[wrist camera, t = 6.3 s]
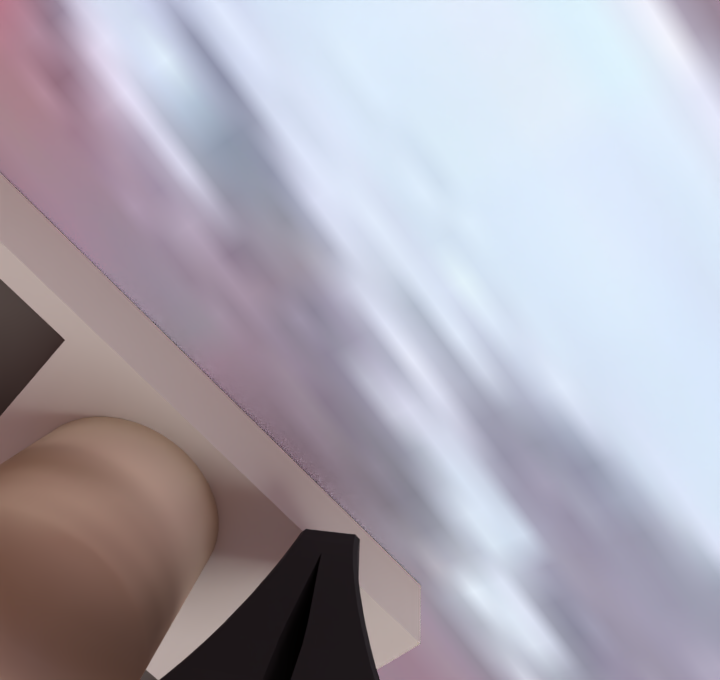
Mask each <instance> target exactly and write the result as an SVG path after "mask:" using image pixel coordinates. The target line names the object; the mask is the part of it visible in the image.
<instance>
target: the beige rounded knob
mask: <svg viewBox="0 0 720 680" xmlns="http://www.w3.org/2000/svg"><path fill="white" fill-rule="evenodd" d="M218 530H219V518H218V512H217V506H216V502H215V499H214V496H213V493H212V491H211V489H210V486H209V484H208V482H207V480H206V479H205V477H204V475H203V474H202V472H201V471H200V469H199V468H198V467H197V465H196V464H195V463H194V462H193V460H192V459H191V458H190V457H189V456H188V455H187V454H186V453H185V452H184V451H183V450H182V449H181V448H179V447H178V446H177V445H176V444H175V443H173V442H172V441H171V440H169V439H168V438H166V437H165V436H163V435H162V434H160V433H158V432H156V431H154V430H152V429H150V428H148V427H146V426H143V425H141V424H138V423H136V422H132V421H128V420H124V419H120V418H112V417H89V418H82V419H78V420H74V421H71V422H68V423H66V424H64V425H62V426H60V427H58V428H56V429H55V430H53V431H52V432H50V433H49V434H47V435H45V436H44V437H42V438H41V439H39V440H38V441H36V442H34V443H33V444H31V445H30V446H28V447H27V448H25V449H24V450H22V451H20V452H19V453H17V454H16V455H14V456H13V457H11V458H9V459H8V460H6V461H5V462H3V463H2V464H0V680H140V679H141V677H142V675H143V674H144V672H145V670H146V668H147V667H148V665H149V663H150V661H151V660H152V658H153V656H154V654H155V653H156V651H157V649H158V647H159V646H160V644H161V642H162V640H163V639H164V637H165V635H166V633H167V632H168V630H169V628H170V626H171V625H172V623H173V621H174V619H175V618H176V616H177V614H178V612H179V611H180V609H181V607H182V605H183V604H184V602H185V600H186V598H187V597H188V595H189V593H190V591H191V590H192V588H193V586H194V584H195V583H196V581H197V579H198V577H199V576H200V574H201V572H202V570H203V569H204V567H205V565H206V563H207V562H208V560H209V558H210V556H211V554H212V552H213V550H214V548H215V545H216V541H217V536H218Z"/></svg>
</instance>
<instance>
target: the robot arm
mask: <svg viewBox="0 0 720 680" xmlns="http://www.w3.org/2000/svg"><path fill="white" fill-rule="evenodd" d="M359 551H360V539H359V538H358V537H357V536H356V534H347V533H338V532H329V531H320V530H311V529H305V530H303V531H302V532H301V533H300V535H299V536H298V537H297V539H296V540H295V541H294V543H293V544H292V545H291V547H290V548H289V549H288V551H287V552H286V553H285V555H284V556H283V557H282V558H281V560H280V561H279V562H278V563H277V565H276V566H275V567H274V568H273V569H272V571H271V572H270V573H269V574H268V575H267V576H266V578H265V579H264V580H263V581H262V582H261V583H260V585H259V586H258V587H257V588H256V589H255V590H254V592H253V593H252V594H251V595H250V596H249V597H248V598H247V599H246V600H245V601H244V602H243V603H242V604H241V605H240V606H239V607H238V609H237V610H236V611H235V612H234V613H233V614H232V615H231V616H230V617H229V618H228V619H227V620H226V621H225V622H224V623H223V624H222V625H221V626H220V627H219V628H218V629H217V630H216V631H215V632H214V633H213V634H212V635H211V636H210V637H209V638H207V639H206V640H205V641H204V642H203V643H202V644H201V645H200V646H199V647H198V648H196V649H195V650H194V651H193V652H192V653H191V654H190V655H189V656H187V657H186V658H185V659H184V660H183V661H182V662H180V663H179V664H178V665H177V666H176V667H174V668H173V669H172V670H171V671H170V672H168V673H167V674H166V675H165V676H163V677H162V678H161V679H160V680H380V679H379V676H378V673H377V669H376V665H375V662H374V658H373V654H372V650H371V646H370V642H369V637H368V633H367V628H366V623H365V618H364V613H363V607H362V601H361V594H360V587H359Z"/></svg>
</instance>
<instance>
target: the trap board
mask: <svg viewBox="0 0 720 680" xmlns="http://www.w3.org/2000/svg"><path fill="white" fill-rule="evenodd" d="M89 417H112V418H120V419H124V420H128V421H132V422H136V423H138V424H141V425H143V426H146V427H148V428H150V429H152V430H154V431H156V432H158V433H160V434H162V435H163V436H165V437H166V438H168V439H169V440H171V441H172V442H173V443H175V444H176V445H177V446H178V447H179V448H181V449H182V450H183V451H184V452H185V453H186V454H187V455H188V456H189V457H190V458H191V459H192V460H193V462H194V463H195V464H196V465H197V467H198V468H199V469H200V471H201V472H202V474H203V475H204V477H205V479H206V480H207V482H208V484H209V486H210V489H211V491H212V493H213V496H214V499H215V502H216V506H217V512H218V518H219V530H218V536H217V541H216V545H215V548H214V550H213V552H212V554H211V556H210V558H209V560H208V562H207V563H206V565H205V567H204V569H203V570H202V572H201V574H200V576H199V577H198V579H197V581H196V583H195V584H194V586H193V588H192V590H191V591H190V593H189V595H188V597H187V598H186V600H185V602H184V604H183V605H182V607H181V609H180V611H179V612H178V614H177V616H176V618H175V619H174V621H173V623H172V625H171V626H170V628H169V630H168V632H167V633H166V635H165V637H164V639H163V640H162V642H161V644H160V646H159V647H158V649H157V651H156V653H155V654H154V656H153V658H152V660H151V661H150V663H149V665H148V667H147V668H146V670H145V672H144V674H143V675H142V677H141V679H140V680H160V679H161V678H162V677H163V676H165V675H166V674H167V673H168V672H170V671H171V670H172V669H173V668H174V667H176V666H177V665H178V664H179V663H180V662H182V661H183V660H184V659H185V658H186V657H187V656H189V655H190V654H191V653H192V652H193V651H194V650H195V649H196V648H198V647H199V646H200V645H201V644H202V643H203V642H204V641H205V640H206V639H207V638H209V637H210V636H211V635H212V634H213V633H214V632H215V631H216V630H217V629H218V628H219V627H220V626H221V625H222V624H223V623H224V622H225V621H226V620H227V619H228V618H229V617H230V616H231V615H232V614H233V613H234V612H235V611H236V610H237V609H238V607H239V606H240V605H241V604H242V603H243V602H244V601H245V600H246V599H247V598H248V597H249V596H250V595H251V594H252V593H253V592H254V590H255V589H256V588H257V587H258V586H259V585H260V583H261V582H262V581H263V580H264V579H265V578H266V576H267V575H268V574H269V573H270V572H271V571H272V569H273V568H274V567H275V566H276V565H277V563H278V562H279V561H280V560H281V558H282V557H283V556H284V555H285V553H286V552H287V551H288V549H289V548H290V547H291V545H292V544H293V543H294V541H295V540H296V539H297V537H298V536H299V535H300V533H301V532H302V531H303V530H305V529H311V530H320V531H329V532H338V533H347V534H356V536H357V537H358V538H359V539H360V551H359V587H360V594H361V601H362V607H363V613H364V618H365V623H366V628H367V633H368V637H369V642H370V646H371V650H372V654H373V658H374V662H375V665H376V669H379V668H380V667H382V666H384V665H386V664H387V663H389V662H391V661H392V660H394V659H396V658H397V657H399V656H401V655H403V654H404V653H406V652H408V651H409V650H411V649H413V648H414V647H416V646H418V645H419V644H420V626H421V585H420V584H419V583H418V582H417V581H416V580H415V579H414V578H412V577H411V576H410V575H409V574H408V573H407V572H406V571H405V570H404V569H403V568H402V567H401V566H400V565H399V564H398V563H397V562H396V561H395V560H394V559H393V558H392V557H391V556H390V555H389V554H388V553H387V552H386V551H385V550H384V549H383V548H382V547H381V546H380V545H379V544H378V543H377V542H376V541H375V540H374V539H373V538H372V537H371V536H370V535H369V534H368V533H367V532H366V531H365V530H364V529H363V528H362V527H361V526H360V525H359V524H357V523H356V522H355V521H354V520H353V519H352V518H351V517H350V516H349V515H348V514H347V513H346V512H345V511H344V510H343V509H342V508H341V507H340V506H339V505H338V504H337V503H336V502H335V501H334V500H333V499H332V498H331V497H330V496H329V495H328V494H327V493H326V492H325V491H324V490H323V489H322V488H321V487H320V486H319V485H318V484H317V483H316V482H315V481H314V480H313V479H312V478H311V477H310V476H309V475H308V474H307V473H306V472H305V471H304V470H302V469H301V468H300V467H299V466H298V465H297V464H296V463H295V462H294V461H293V460H292V459H291V458H290V457H289V456H288V455H287V454H286V453H285V452H284V451H283V450H282V449H281V448H280V447H279V446H278V445H277V444H276V443H275V442H274V441H273V440H272V439H271V438H270V437H269V436H268V435H267V434H266V433H265V432H264V431H263V430H262V429H261V428H260V427H259V426H258V425H257V424H256V423H255V422H254V421H253V420H252V419H251V418H250V417H248V416H247V415H246V414H245V413H244V412H243V411H242V410H241V409H240V408H239V407H238V406H237V405H236V404H235V403H234V402H233V401H232V400H231V399H230V398H229V397H228V396H227V395H226V394H225V393H224V392H223V391H222V390H221V389H220V388H219V387H218V386H217V385H216V384H215V383H214V382H213V381H212V380H211V379H210V378H209V377H208V376H207V375H206V374H205V373H204V372H203V371H202V370H201V369H200V368H199V367H198V366H197V365H196V364H195V363H193V362H192V361H191V360H190V359H189V358H188V357H187V356H186V355H185V354H184V353H183V352H182V351H181V350H180V349H179V348H178V347H177V346H176V345H175V344H174V343H173V342H172V341H171V340H170V339H169V338H168V337H167V336H166V335H165V334H164V333H163V332H162V331H161V330H160V329H159V328H158V327H157V326H156V325H155V324H154V323H153V322H152V321H151V320H150V319H149V318H148V317H147V316H146V315H145V314H144V313H143V312H142V311H141V310H140V309H138V308H137V307H136V306H135V305H134V304H133V303H132V302H131V301H130V300H129V299H128V298H127V297H126V296H125V295H124V294H123V293H122V292H121V291H120V290H119V289H118V288H117V287H116V286H115V285H114V284H113V283H112V282H111V281H110V280H109V279H108V278H107V277H106V276H105V275H104V274H103V273H102V272H101V271H100V270H99V269H98V268H97V267H96V266H95V265H94V264H93V263H92V262H91V261H90V260H89V259H88V258H87V257H86V256H85V255H83V254H82V253H81V252H80V251H79V250H78V249H77V248H76V247H75V246H74V245H73V244H72V243H71V242H70V241H69V240H68V239H67V238H66V237H65V236H64V235H63V234H62V233H61V232H60V231H59V230H58V229H57V228H56V227H55V226H54V225H53V224H52V223H51V222H50V221H49V220H48V219H47V218H46V217H45V216H44V215H43V214H42V213H41V212H40V211H39V210H38V209H37V208H36V207H35V206H34V205H33V204H32V203H31V202H30V201H28V200H27V199H26V198H25V197H24V196H23V195H22V194H21V193H20V192H19V191H18V190H17V189H16V188H15V187H14V186H13V185H12V184H11V183H10V182H9V181H8V180H7V179H6V178H5V177H4V176H3V175H2V174H1V173H0V464H2V463H3V462H5V461H6V460H8V459H9V458H11V457H13V456H14V455H16V454H17V453H19V452H20V451H22V450H24V449H25V448H27V447H28V446H30V445H31V444H33V443H34V442H36V441H38V440H39V439H41V438H42V437H44V436H45V435H47V434H49V433H50V432H52V431H53V430H55V429H56V428H58V427H60V426H62V425H64V424H66V423H68V422H71V421H74V420H78V419H82V418H89Z"/></svg>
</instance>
